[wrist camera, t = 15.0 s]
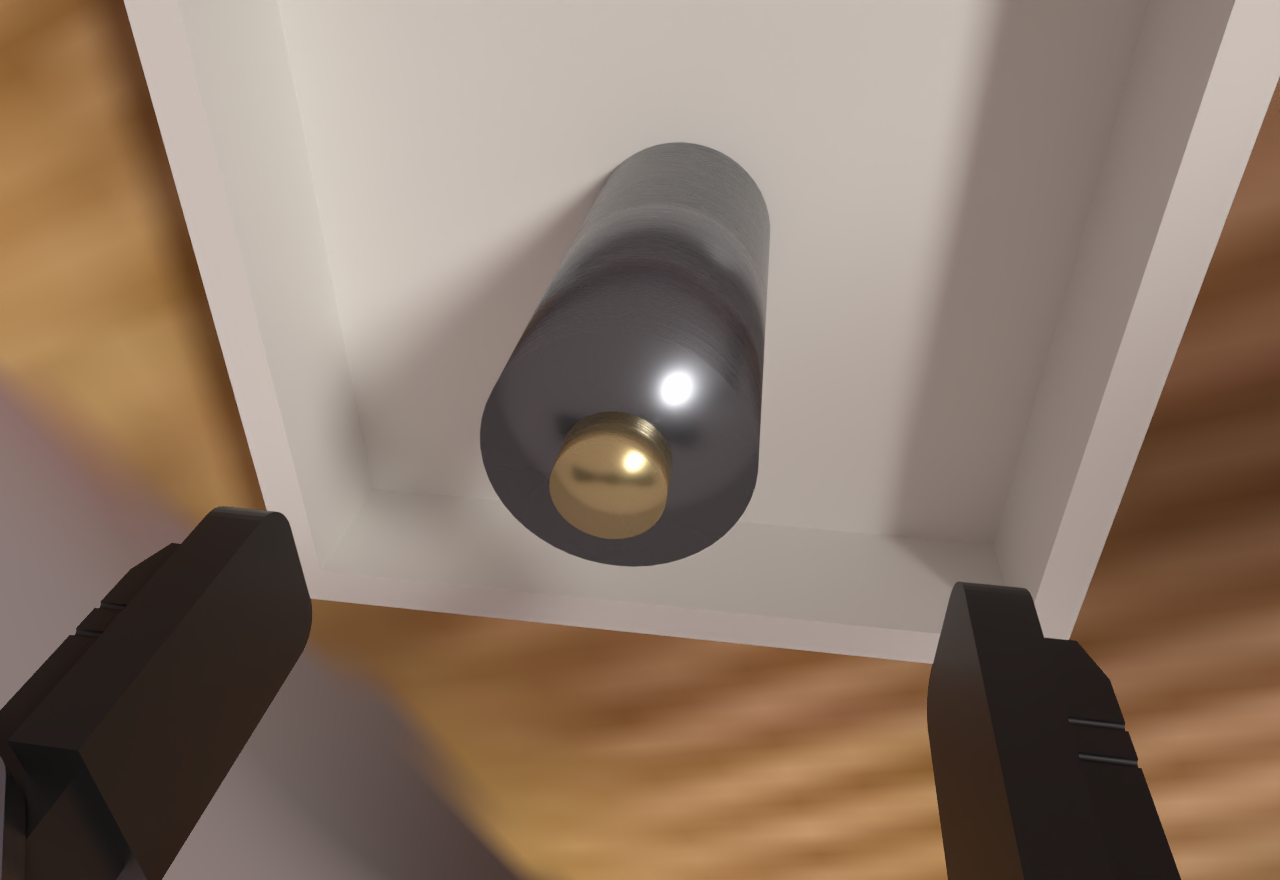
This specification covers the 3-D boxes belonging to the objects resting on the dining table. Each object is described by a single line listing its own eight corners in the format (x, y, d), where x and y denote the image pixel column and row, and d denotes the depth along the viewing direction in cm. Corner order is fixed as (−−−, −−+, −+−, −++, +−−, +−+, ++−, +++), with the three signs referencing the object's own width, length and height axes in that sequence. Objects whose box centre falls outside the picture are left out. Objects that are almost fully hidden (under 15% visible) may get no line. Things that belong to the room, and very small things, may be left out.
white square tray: (1268, -272, 15) (1422, -306, 11) (1016, 552, 25) (1055, 676, 21) (202, -265, 17) (41, -293, 14) (359, 493, 27) (291, 596, 24)
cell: (777, 146, 19) (767, 373, 11) (763, 319, 21) (746, 615, 13) (590, 138, 20) (447, 350, 11) (594, 308, 22) (478, 589, 14)
